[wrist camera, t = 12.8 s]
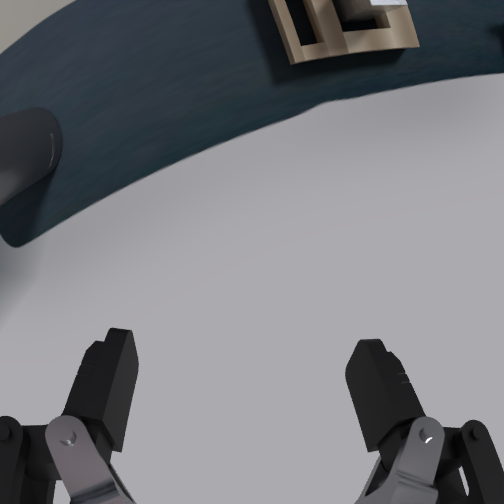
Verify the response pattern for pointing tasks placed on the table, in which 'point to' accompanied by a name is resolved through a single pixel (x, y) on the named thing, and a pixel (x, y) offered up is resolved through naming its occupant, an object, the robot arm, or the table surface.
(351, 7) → the grey rectangular block
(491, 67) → the table surface
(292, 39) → the holder
